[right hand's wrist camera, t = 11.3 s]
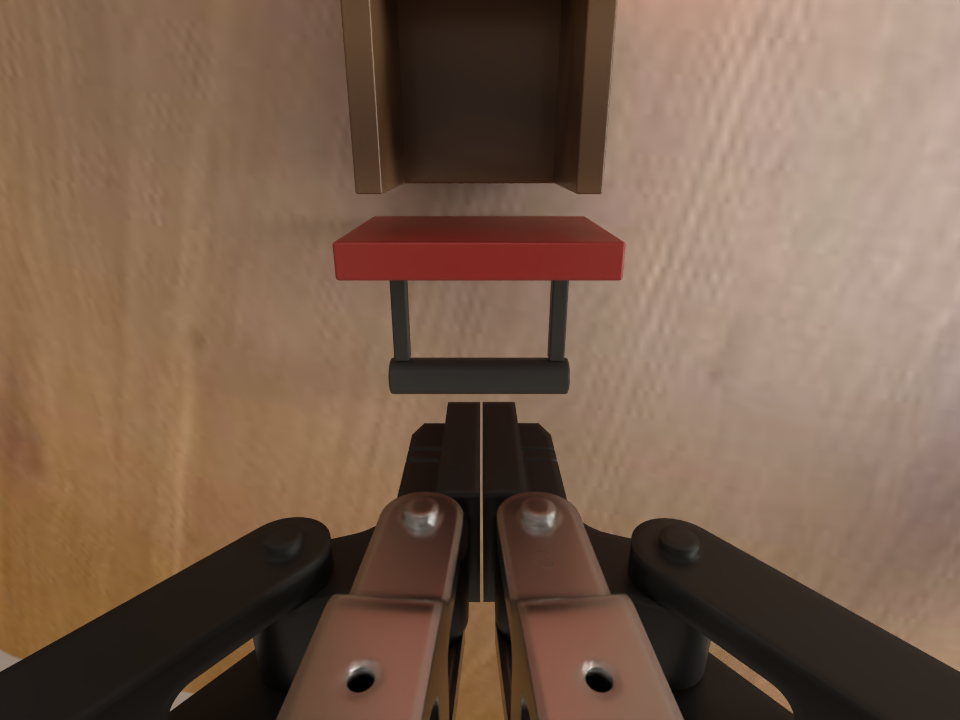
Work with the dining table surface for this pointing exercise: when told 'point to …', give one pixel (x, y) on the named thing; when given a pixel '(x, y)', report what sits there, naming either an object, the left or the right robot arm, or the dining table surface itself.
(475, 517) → the right robot arm
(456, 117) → the drawer
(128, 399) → the dining table surface
